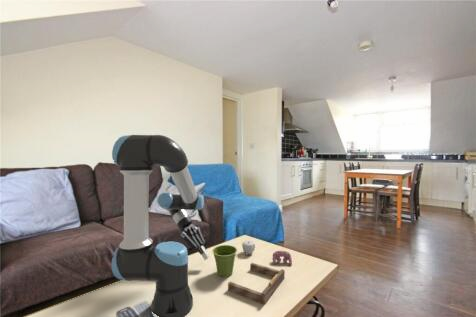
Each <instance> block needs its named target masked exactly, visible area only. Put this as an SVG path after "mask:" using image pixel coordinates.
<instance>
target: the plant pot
mask: <svg viewBox="0 0 476 317" xmlns="http://www.w3.org/2000/svg"><path fill="white" fill-rule="evenodd" d="M211 251H212V254H213V257H214V261H215V265H216V266H215V267H216V272H217V275H219V276H221V277H225V278H226V277H229V276H230V275H232V274H233V272H234V266H235V265H234V264H235V258H236V255H237V253H238V248H237V247H236V246H234V245H229V244H220V245H217V246H215V247H213V249H212V250H211Z"/></svg>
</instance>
